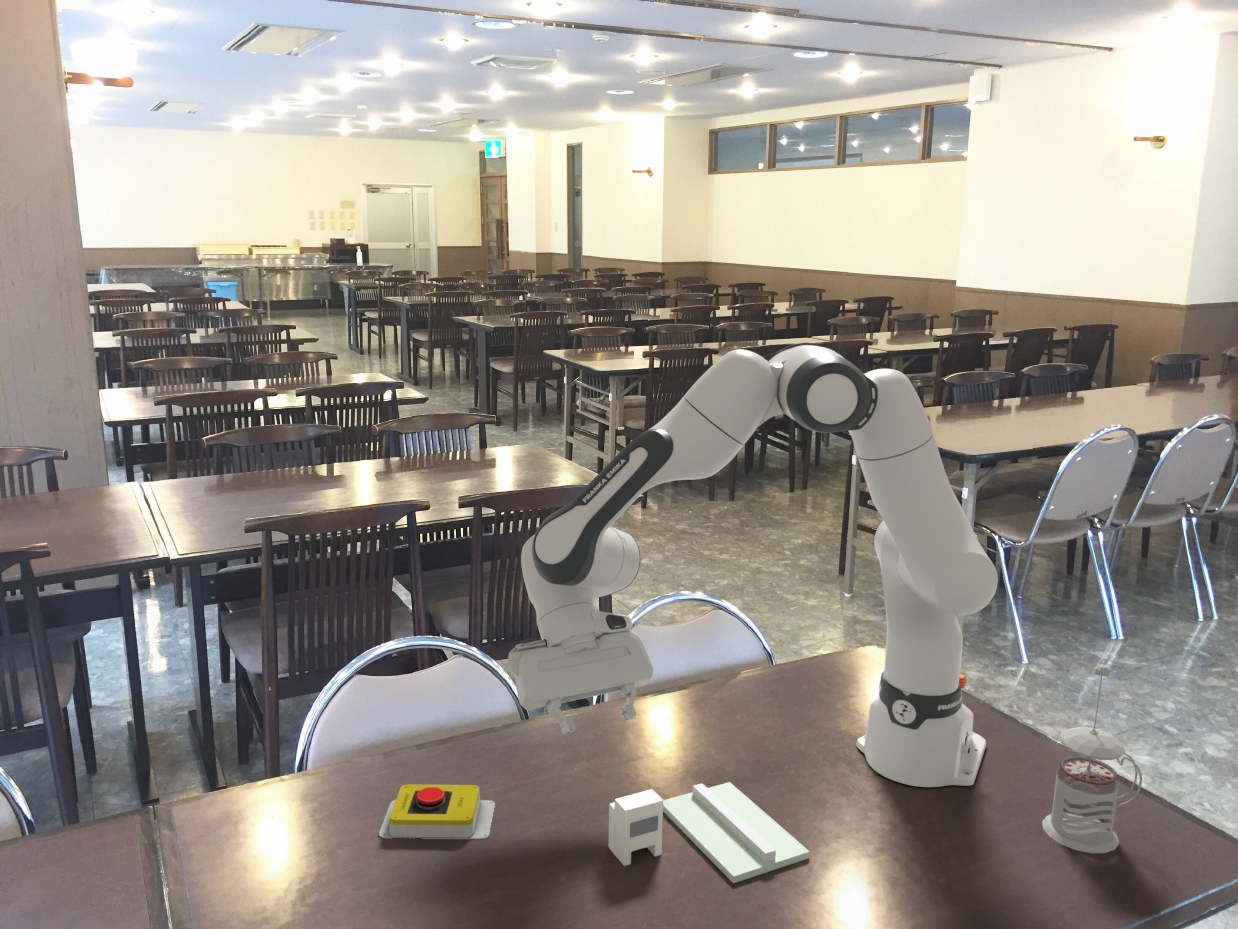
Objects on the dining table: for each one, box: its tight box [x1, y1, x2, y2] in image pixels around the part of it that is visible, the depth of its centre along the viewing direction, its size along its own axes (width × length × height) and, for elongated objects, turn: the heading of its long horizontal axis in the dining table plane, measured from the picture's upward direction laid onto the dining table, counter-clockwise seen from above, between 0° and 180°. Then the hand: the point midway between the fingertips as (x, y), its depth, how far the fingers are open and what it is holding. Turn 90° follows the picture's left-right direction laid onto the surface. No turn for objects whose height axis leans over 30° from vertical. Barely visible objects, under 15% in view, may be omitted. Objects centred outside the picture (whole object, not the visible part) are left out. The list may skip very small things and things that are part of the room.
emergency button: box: [378, 783, 496, 840], centre depth 137 cm, size 9×4×15 cm
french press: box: [1041, 664, 1143, 854], centre depth 135 cm, size 10×12×25 cm
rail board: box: [662, 781, 810, 884], centre depth 136 cm, size 19×12×2 cm, turn 27°
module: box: [608, 788, 664, 867], centre depth 131 cm, size 5×6×8 cm
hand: (600, 725), depth 138 cm, fingers open, 8 cm apart
